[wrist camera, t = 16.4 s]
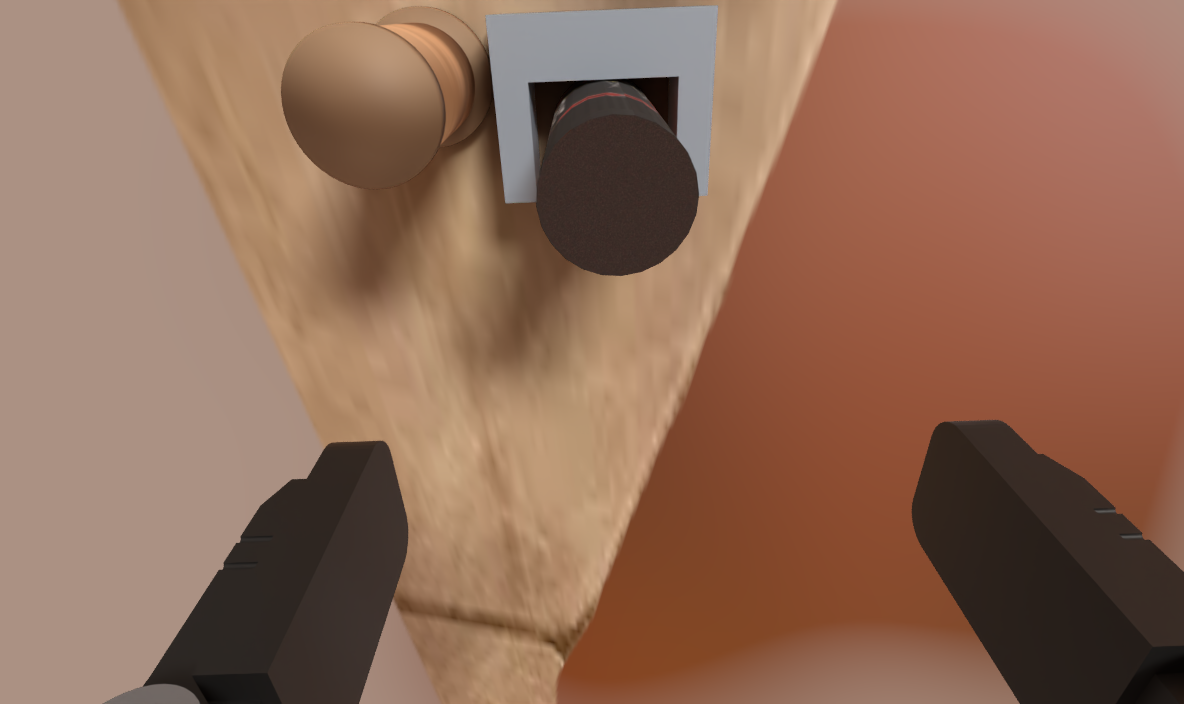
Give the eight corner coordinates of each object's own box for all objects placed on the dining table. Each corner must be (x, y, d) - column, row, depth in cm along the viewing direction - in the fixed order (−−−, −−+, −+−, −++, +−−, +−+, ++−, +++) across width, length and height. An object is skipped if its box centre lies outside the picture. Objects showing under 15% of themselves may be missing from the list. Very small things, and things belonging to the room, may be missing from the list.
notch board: (495, 14, 33) (485, 15, 29) (703, 5, 32) (718, 5, 29) (512, 184, 37) (505, 203, 33) (695, 177, 37) (707, 195, 33)
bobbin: (352, 9, 32) (242, 10, 22) (485, 3, 32) (438, 2, 22) (380, 146, 36) (296, 204, 25) (499, 142, 36) (465, 197, 25)
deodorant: (561, 63, 34) (549, 98, 21) (665, 84, 34) (718, 132, 21) (545, 171, 37) (525, 262, 23) (642, 189, 37) (676, 287, 24)
